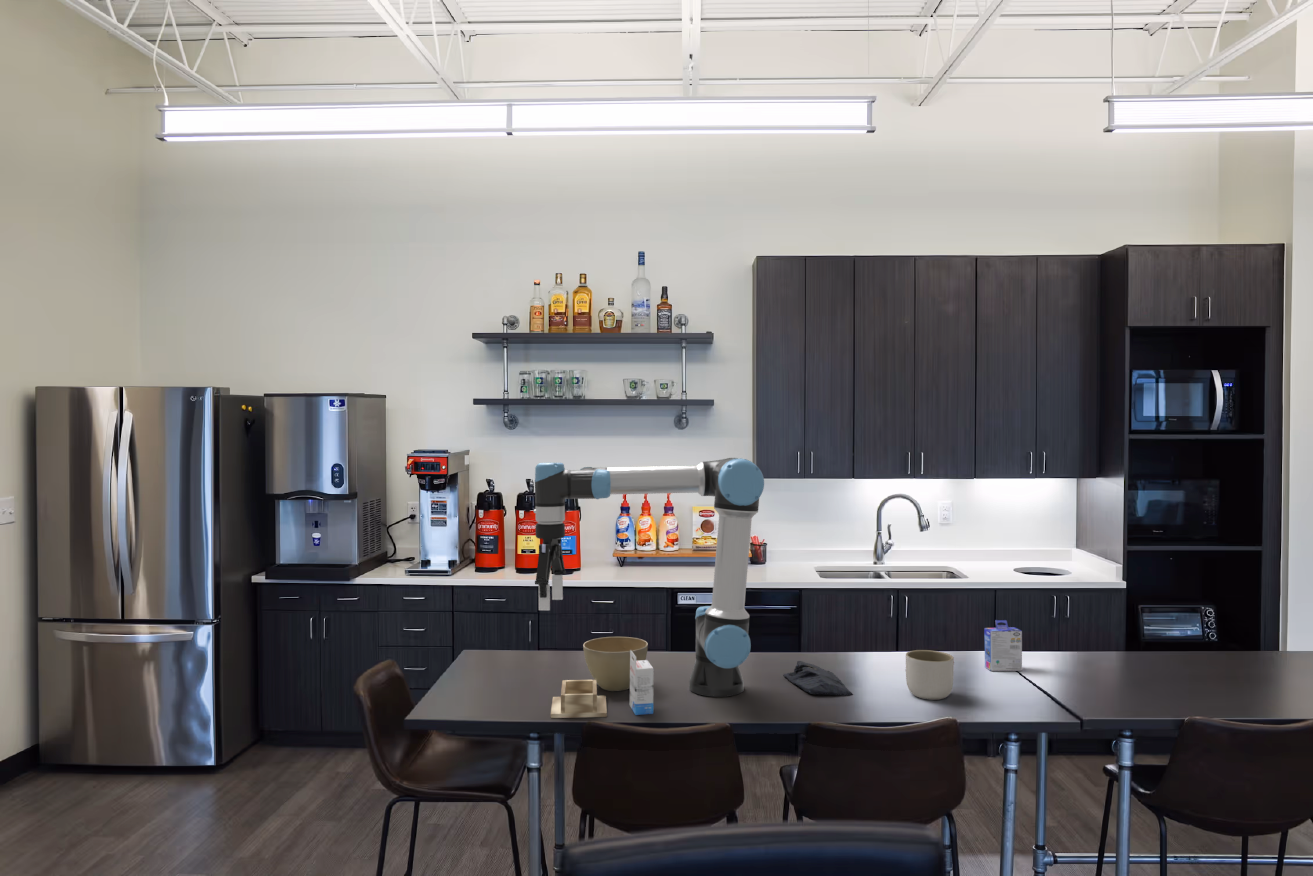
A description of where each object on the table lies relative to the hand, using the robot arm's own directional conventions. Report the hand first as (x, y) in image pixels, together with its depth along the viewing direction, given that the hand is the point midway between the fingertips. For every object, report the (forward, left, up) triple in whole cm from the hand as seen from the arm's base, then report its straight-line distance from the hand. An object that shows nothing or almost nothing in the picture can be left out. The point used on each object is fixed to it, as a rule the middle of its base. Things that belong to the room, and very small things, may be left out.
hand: (551, 604), depth 220 cm
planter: (-102, -4, -27) cm, 106 cm away
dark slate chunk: (-74, -16, -28) cm, 81 cm away
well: (-7, 0, -27) cm, 28 cm away
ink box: (-23, +2, -27) cm, 36 cm away
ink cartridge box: (-135, -28, -27) cm, 141 cm away
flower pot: (-17, -18, -27) cm, 37 cm away
